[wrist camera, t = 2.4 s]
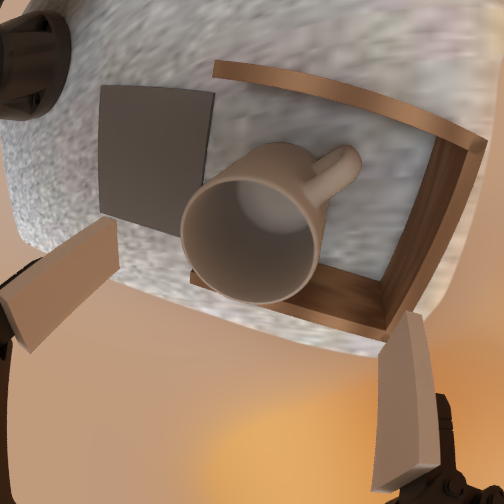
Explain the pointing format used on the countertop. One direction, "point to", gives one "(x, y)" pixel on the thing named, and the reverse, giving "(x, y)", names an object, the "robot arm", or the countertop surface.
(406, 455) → the robot arm
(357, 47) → the countertop surface
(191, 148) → the mat
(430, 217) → the open-sided wooden frame
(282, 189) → the mug
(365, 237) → the countertop surface
